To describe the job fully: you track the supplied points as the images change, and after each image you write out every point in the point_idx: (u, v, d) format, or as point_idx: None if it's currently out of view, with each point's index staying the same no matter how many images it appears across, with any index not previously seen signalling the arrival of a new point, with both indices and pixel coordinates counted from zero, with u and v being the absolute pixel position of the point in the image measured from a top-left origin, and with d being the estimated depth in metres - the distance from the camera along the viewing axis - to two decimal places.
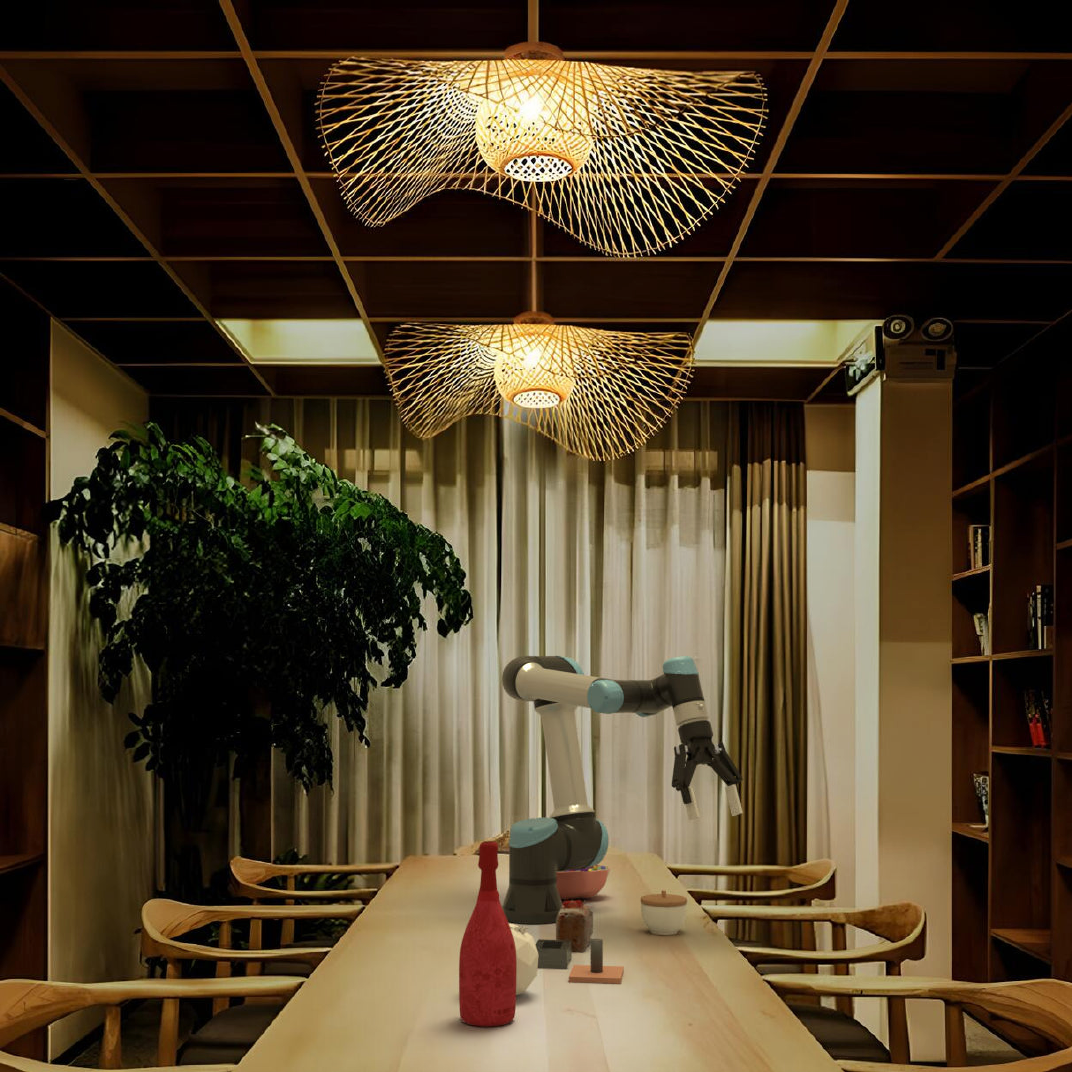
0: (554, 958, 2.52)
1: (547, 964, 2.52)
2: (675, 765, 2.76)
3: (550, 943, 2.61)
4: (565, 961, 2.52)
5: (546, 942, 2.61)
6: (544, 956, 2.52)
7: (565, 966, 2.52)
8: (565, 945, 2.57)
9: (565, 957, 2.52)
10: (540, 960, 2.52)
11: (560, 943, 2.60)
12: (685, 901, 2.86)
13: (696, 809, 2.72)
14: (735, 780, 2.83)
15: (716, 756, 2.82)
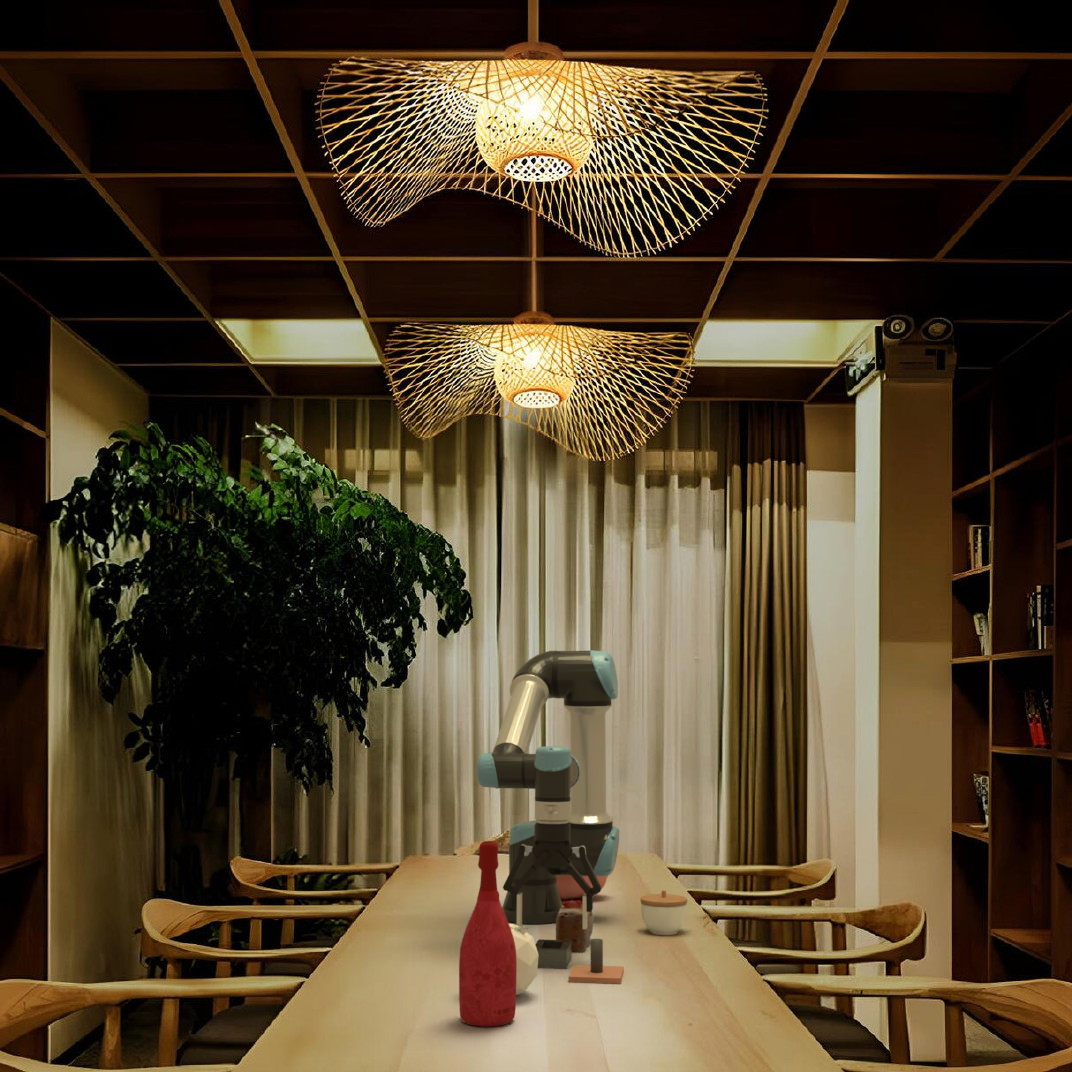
0: (554, 958, 2.52)
1: (547, 964, 2.52)
2: None
3: (550, 943, 2.61)
4: (565, 961, 2.52)
5: (546, 942, 2.61)
6: (544, 956, 2.52)
7: (565, 966, 2.52)
8: (565, 945, 2.57)
9: (565, 957, 2.52)
10: (540, 960, 2.52)
11: (560, 943, 2.60)
12: (685, 901, 2.86)
13: (517, 918, 2.57)
14: (588, 892, 2.56)
15: (565, 864, 2.57)
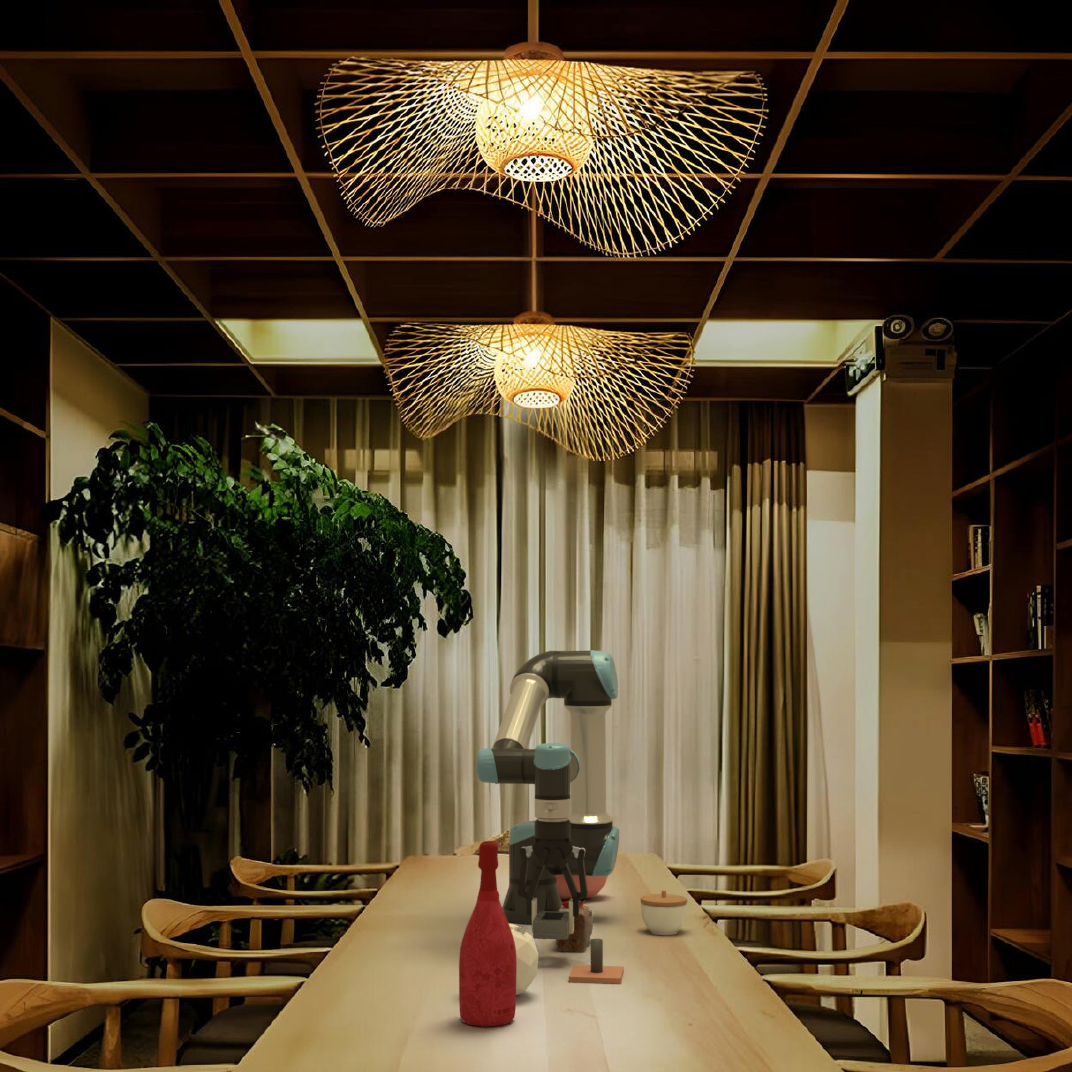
0: (555, 929, 2.53)
1: (548, 935, 2.53)
2: None
3: (551, 914, 2.62)
4: (566, 932, 2.53)
5: (547, 913, 2.62)
6: (545, 927, 2.53)
7: (566, 937, 2.53)
8: (565, 916, 2.58)
9: (566, 928, 2.53)
10: (541, 931, 2.53)
11: (561, 914, 2.62)
12: (685, 901, 2.86)
13: (532, 924, 2.57)
14: (574, 896, 2.57)
15: (562, 863, 2.57)
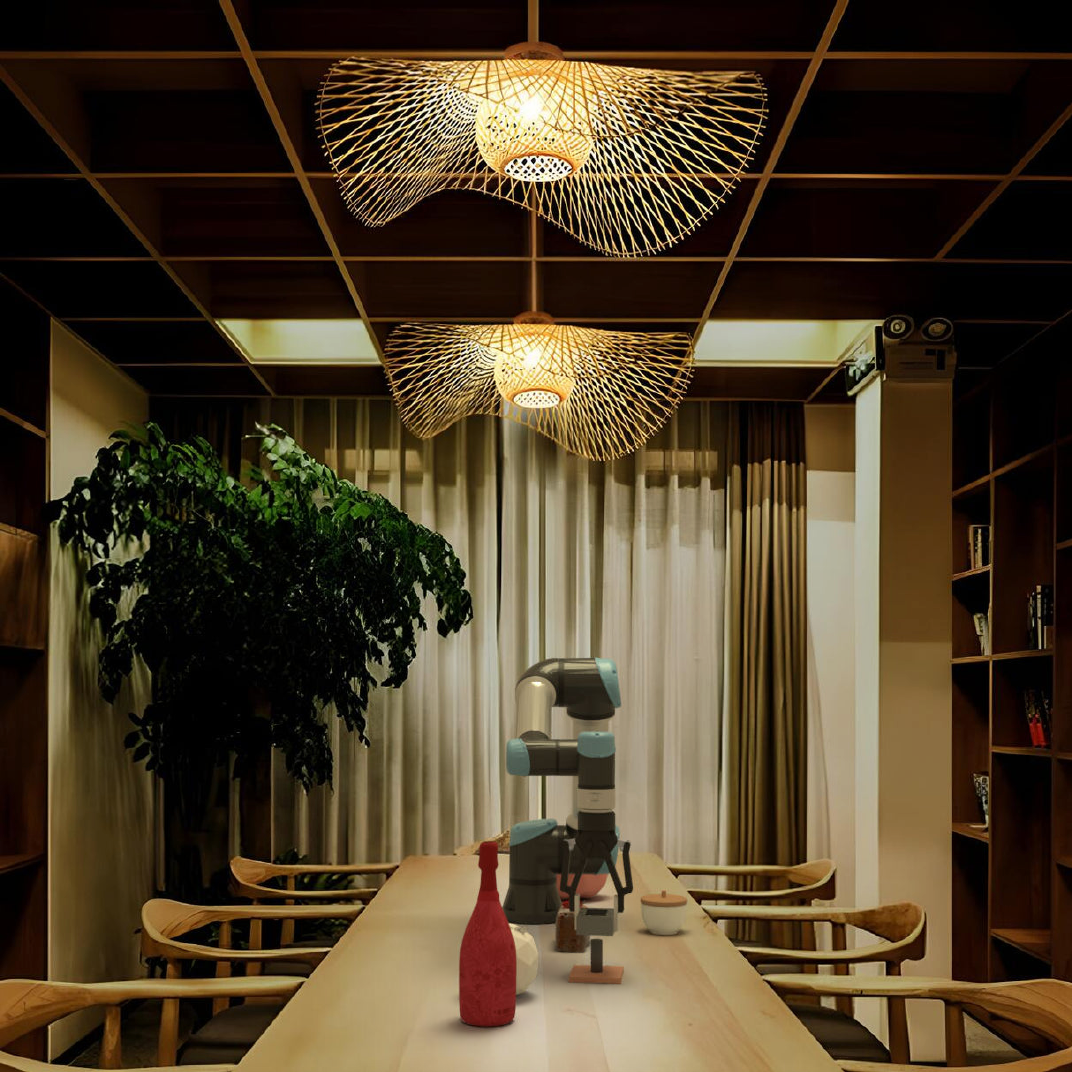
0: (600, 925, 2.41)
1: (592, 932, 2.41)
2: None
3: (594, 911, 2.49)
4: (611, 928, 2.40)
5: (589, 910, 2.50)
6: (589, 923, 2.41)
7: (611, 933, 2.40)
8: (610, 912, 2.45)
9: (611, 924, 2.40)
10: (585, 927, 2.41)
11: (604, 911, 2.49)
12: (685, 901, 2.86)
13: (575, 921, 2.45)
14: (620, 892, 2.45)
15: (606, 856, 2.45)
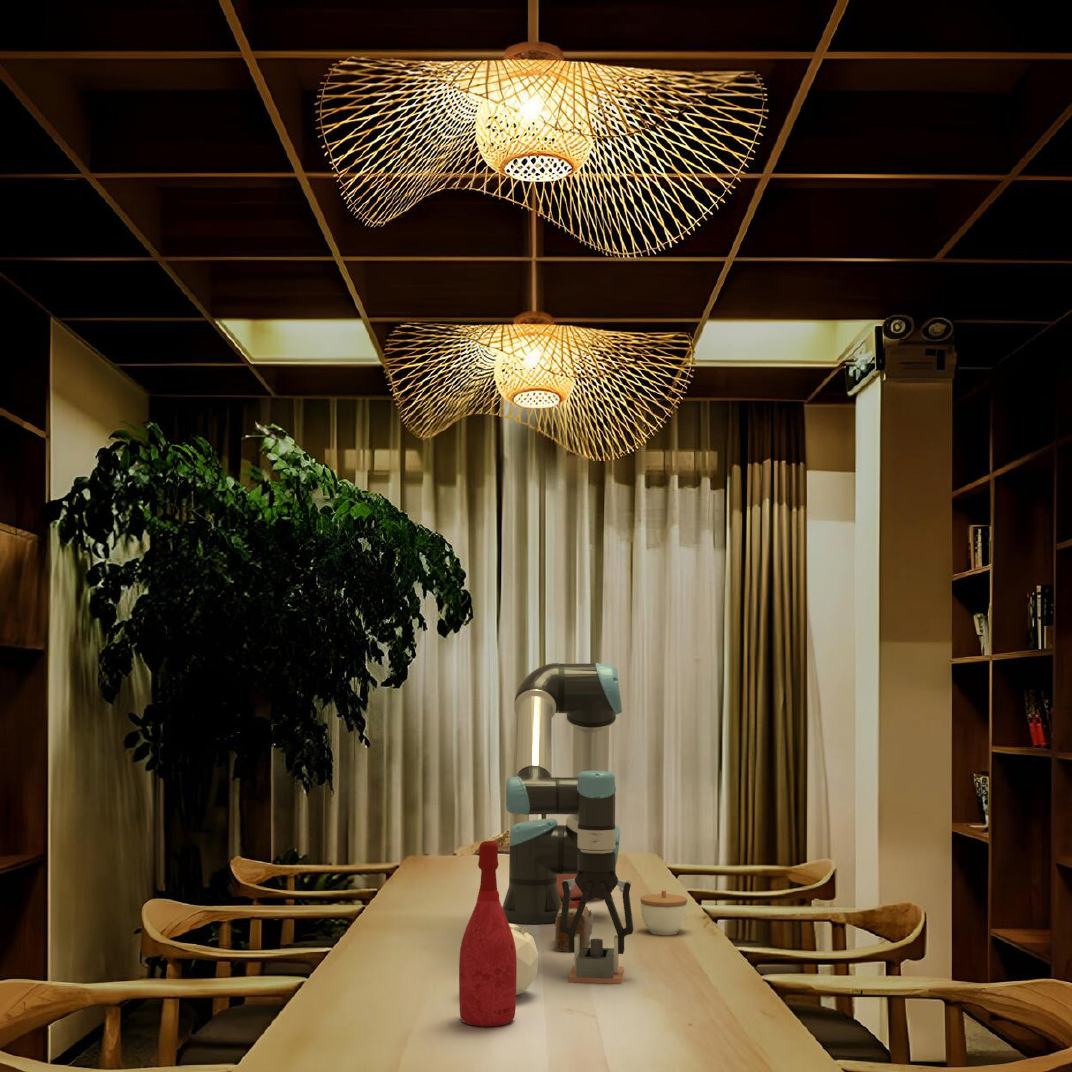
0: (600, 967, 2.40)
1: (592, 974, 2.40)
2: None
3: None
4: (611, 970, 2.39)
5: (589, 950, 2.49)
6: (589, 965, 2.40)
7: (611, 976, 2.39)
8: (610, 953, 2.45)
9: (611, 966, 2.40)
10: (585, 969, 2.40)
11: (604, 951, 2.48)
12: (685, 901, 2.86)
13: (575, 962, 2.44)
14: (620, 933, 2.44)
15: (606, 897, 2.44)
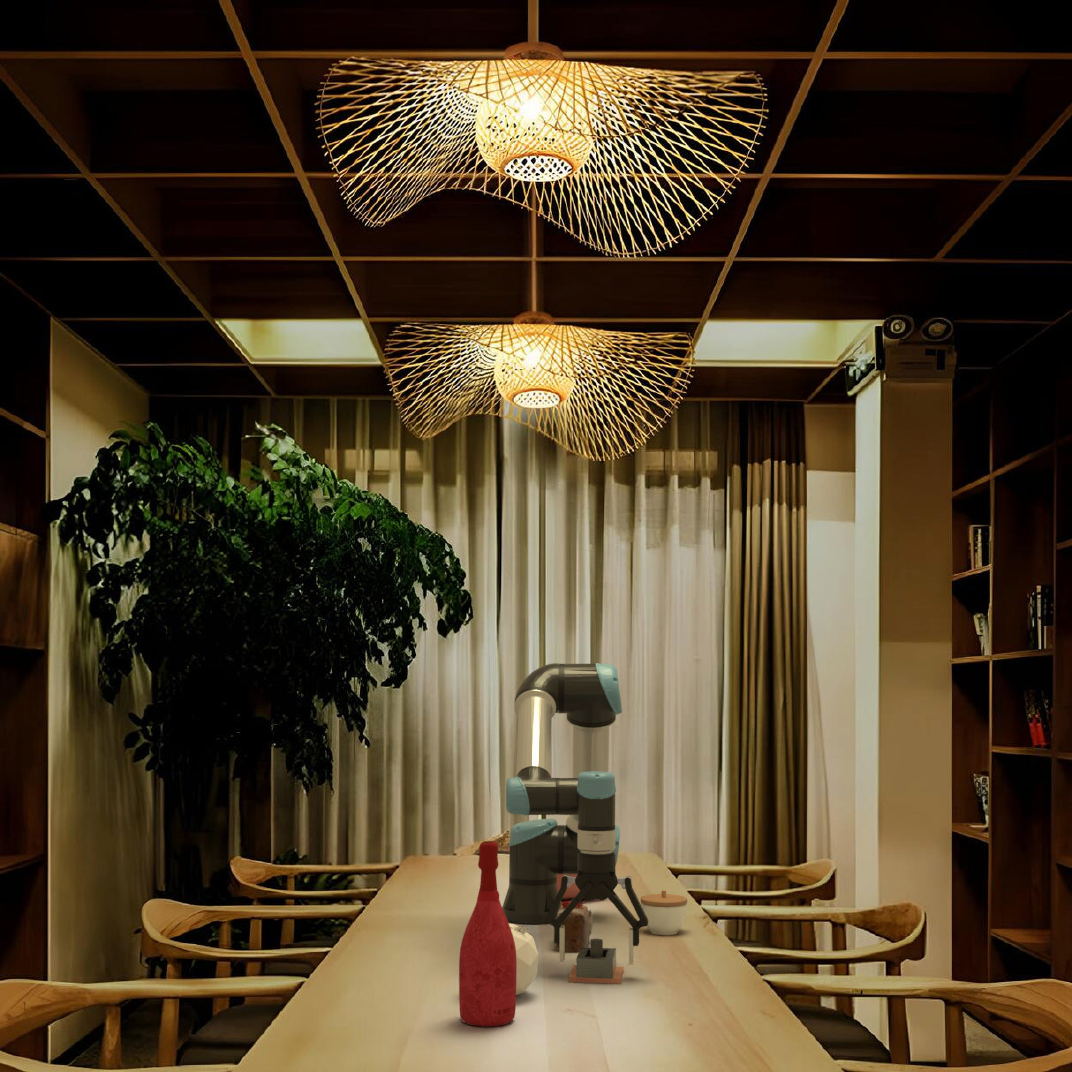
0: (600, 967, 2.40)
1: (592, 974, 2.40)
2: None
3: None
4: (611, 970, 2.39)
5: (589, 950, 2.49)
6: (589, 965, 2.40)
7: (611, 976, 2.39)
8: (610, 953, 2.45)
9: (611, 966, 2.40)
10: (585, 969, 2.40)
11: (604, 951, 2.48)
12: (685, 901, 2.86)
13: (560, 953, 2.45)
14: (634, 925, 2.44)
15: (610, 896, 2.44)
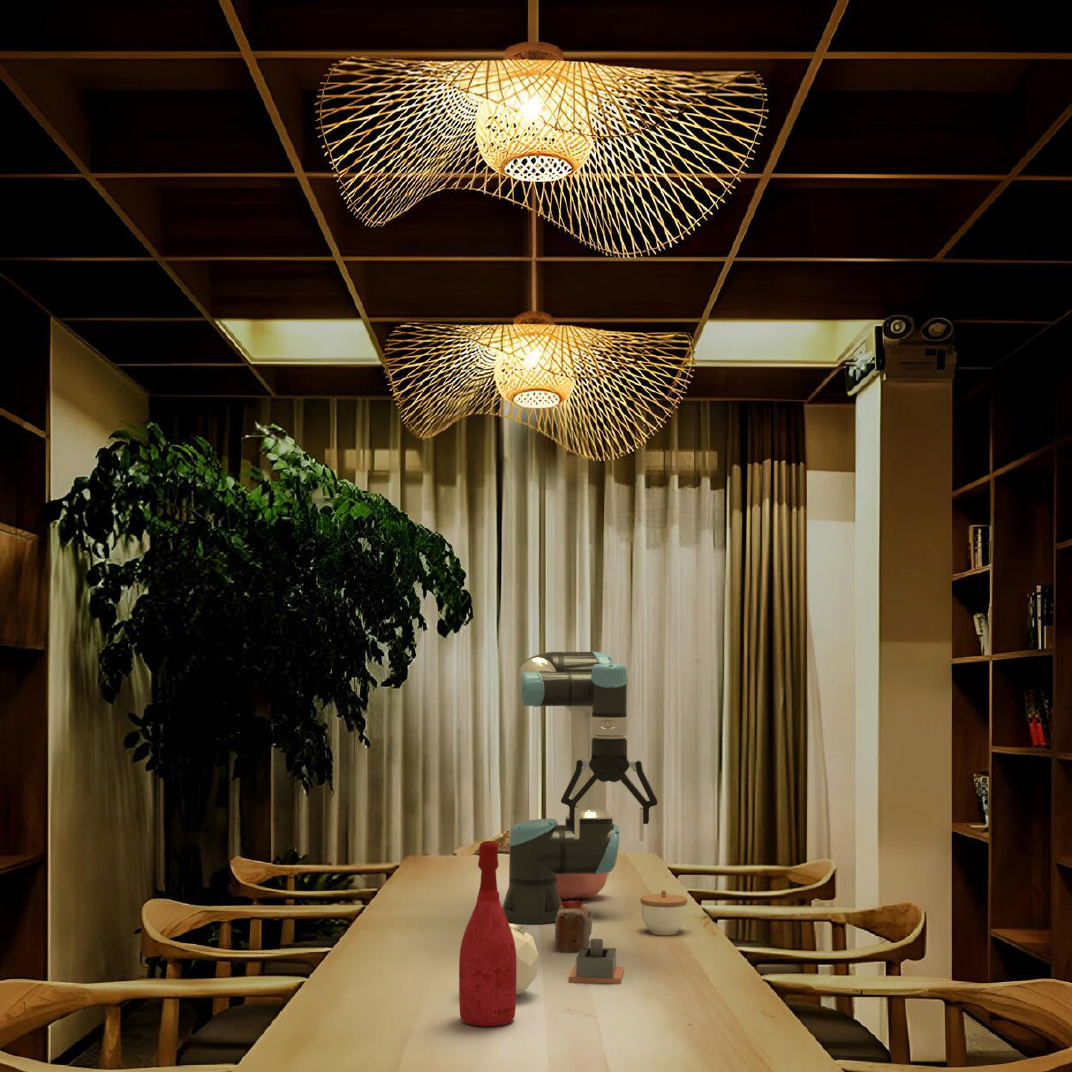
0: (600, 967, 2.40)
1: (592, 974, 2.40)
2: None
3: None
4: (611, 970, 2.39)
5: (589, 950, 2.49)
6: (589, 965, 2.40)
7: (611, 976, 2.39)
8: (610, 953, 2.45)
9: (611, 966, 2.40)
10: (585, 969, 2.40)
11: (604, 951, 2.48)
12: (685, 901, 2.86)
13: (575, 831, 2.63)
14: (644, 804, 2.61)
15: (622, 777, 2.62)
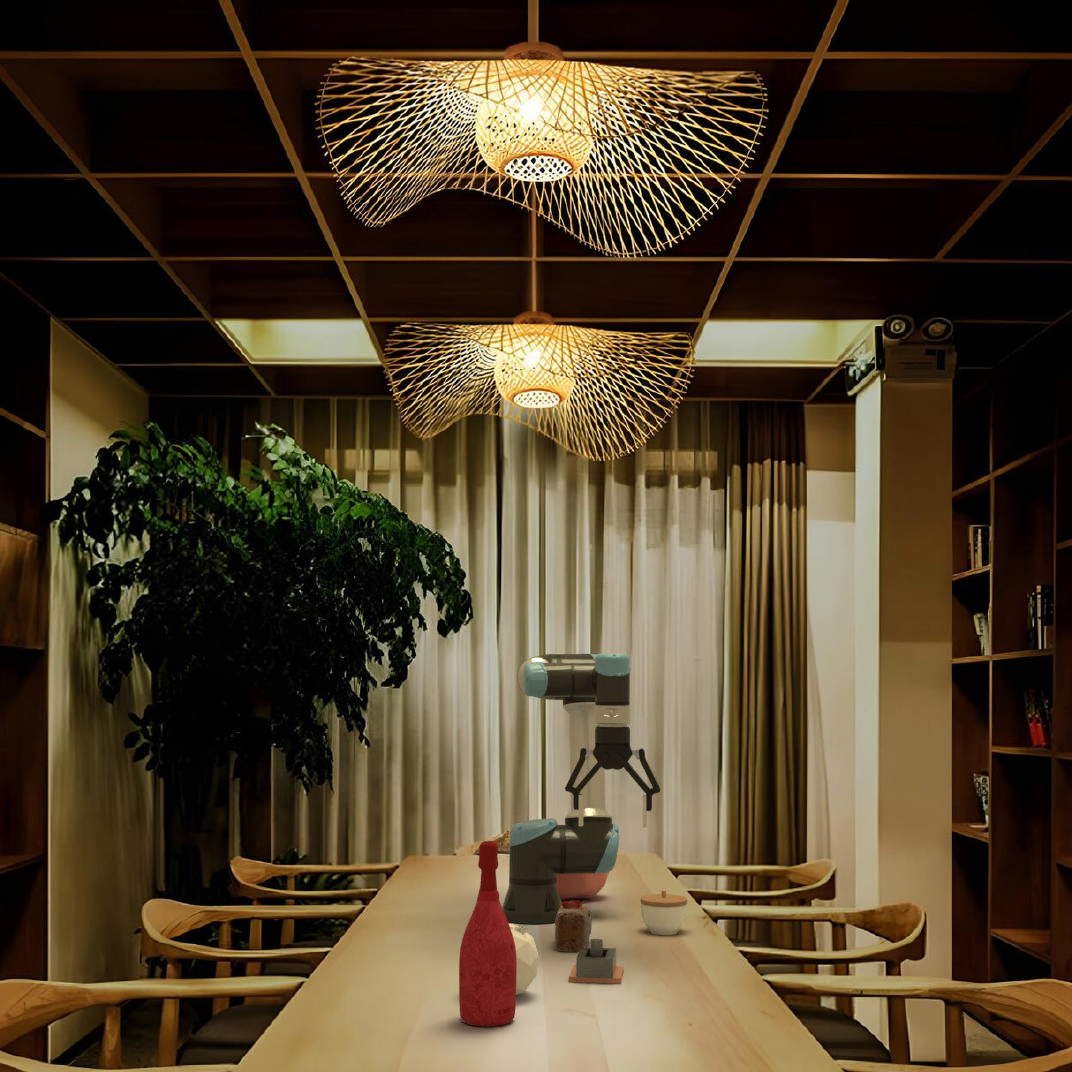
0: (600, 967, 2.40)
1: (592, 974, 2.40)
2: None
3: None
4: (611, 970, 2.39)
5: (589, 950, 2.49)
6: (589, 965, 2.40)
7: (611, 976, 2.39)
8: (610, 953, 2.45)
9: (611, 966, 2.40)
10: (585, 969, 2.40)
11: (604, 951, 2.48)
12: (685, 901, 2.86)
13: (579, 818, 2.66)
14: (648, 792, 2.65)
15: (625, 765, 2.66)
